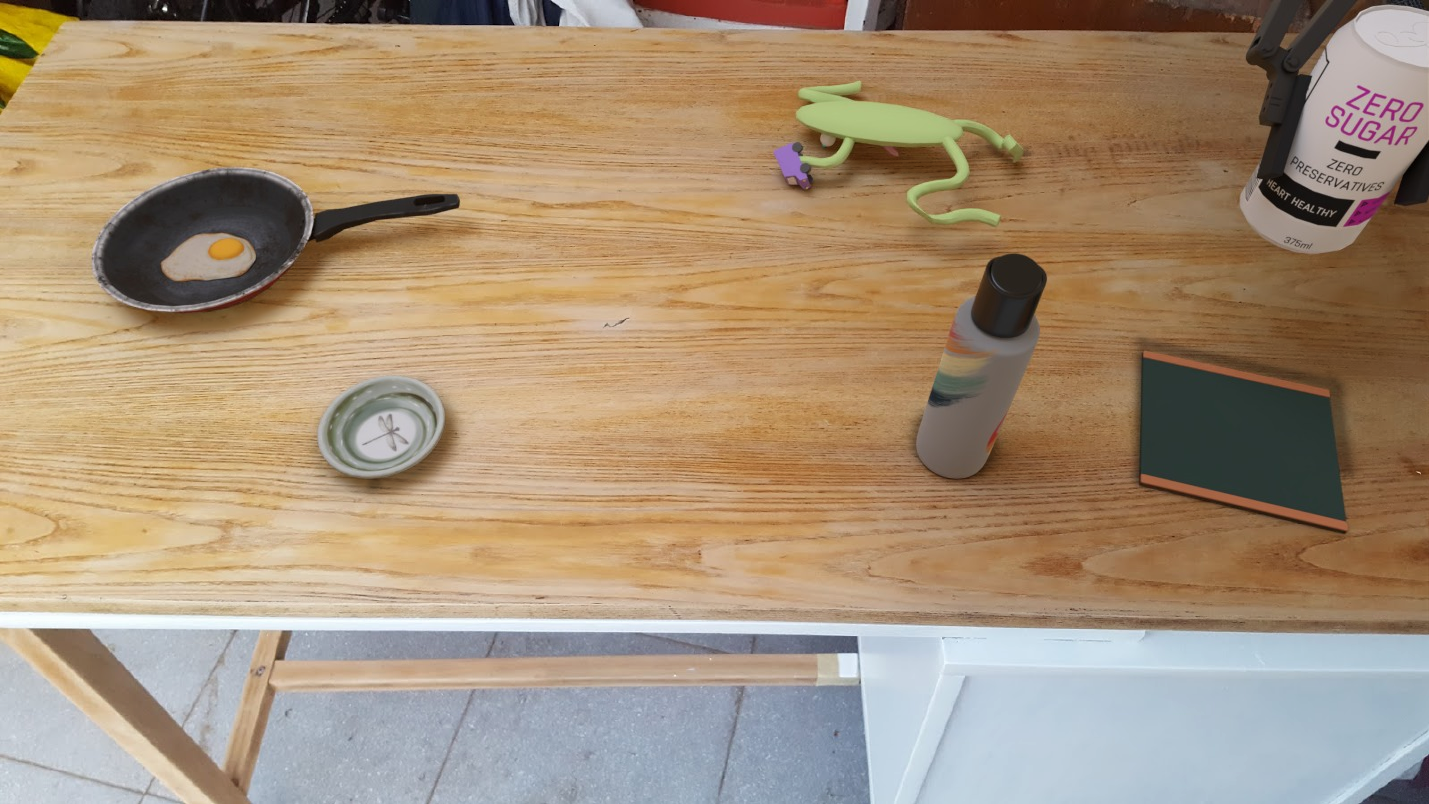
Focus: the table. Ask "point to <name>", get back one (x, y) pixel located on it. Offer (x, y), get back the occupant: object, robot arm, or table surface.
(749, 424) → the table surface
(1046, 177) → the table surface
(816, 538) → the table surface
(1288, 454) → the mat
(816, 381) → the table surface
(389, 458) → the saucer
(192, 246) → the frying pan
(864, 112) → the figurine
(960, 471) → the lotion bottle
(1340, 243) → the supplement can
